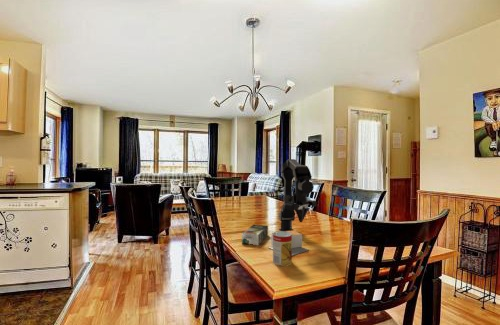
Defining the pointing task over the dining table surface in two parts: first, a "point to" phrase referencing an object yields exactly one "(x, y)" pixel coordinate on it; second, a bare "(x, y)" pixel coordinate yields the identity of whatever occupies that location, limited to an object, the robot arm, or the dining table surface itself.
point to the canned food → (282, 248)
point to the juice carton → (255, 234)
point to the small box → (293, 239)
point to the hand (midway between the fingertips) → (300, 222)
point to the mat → (295, 250)
